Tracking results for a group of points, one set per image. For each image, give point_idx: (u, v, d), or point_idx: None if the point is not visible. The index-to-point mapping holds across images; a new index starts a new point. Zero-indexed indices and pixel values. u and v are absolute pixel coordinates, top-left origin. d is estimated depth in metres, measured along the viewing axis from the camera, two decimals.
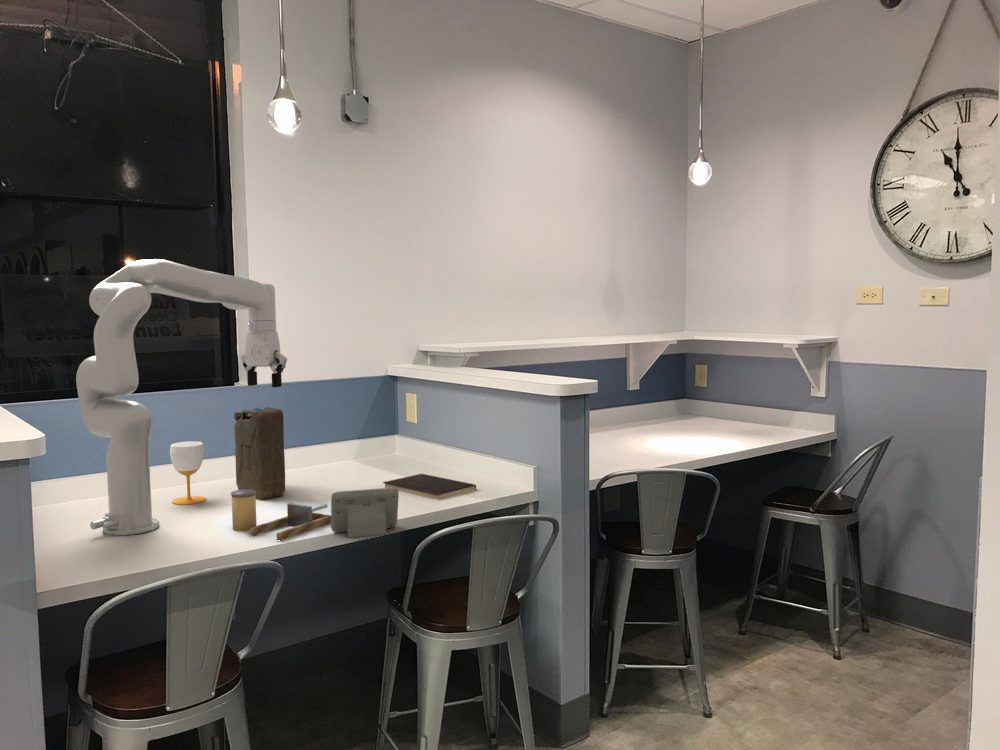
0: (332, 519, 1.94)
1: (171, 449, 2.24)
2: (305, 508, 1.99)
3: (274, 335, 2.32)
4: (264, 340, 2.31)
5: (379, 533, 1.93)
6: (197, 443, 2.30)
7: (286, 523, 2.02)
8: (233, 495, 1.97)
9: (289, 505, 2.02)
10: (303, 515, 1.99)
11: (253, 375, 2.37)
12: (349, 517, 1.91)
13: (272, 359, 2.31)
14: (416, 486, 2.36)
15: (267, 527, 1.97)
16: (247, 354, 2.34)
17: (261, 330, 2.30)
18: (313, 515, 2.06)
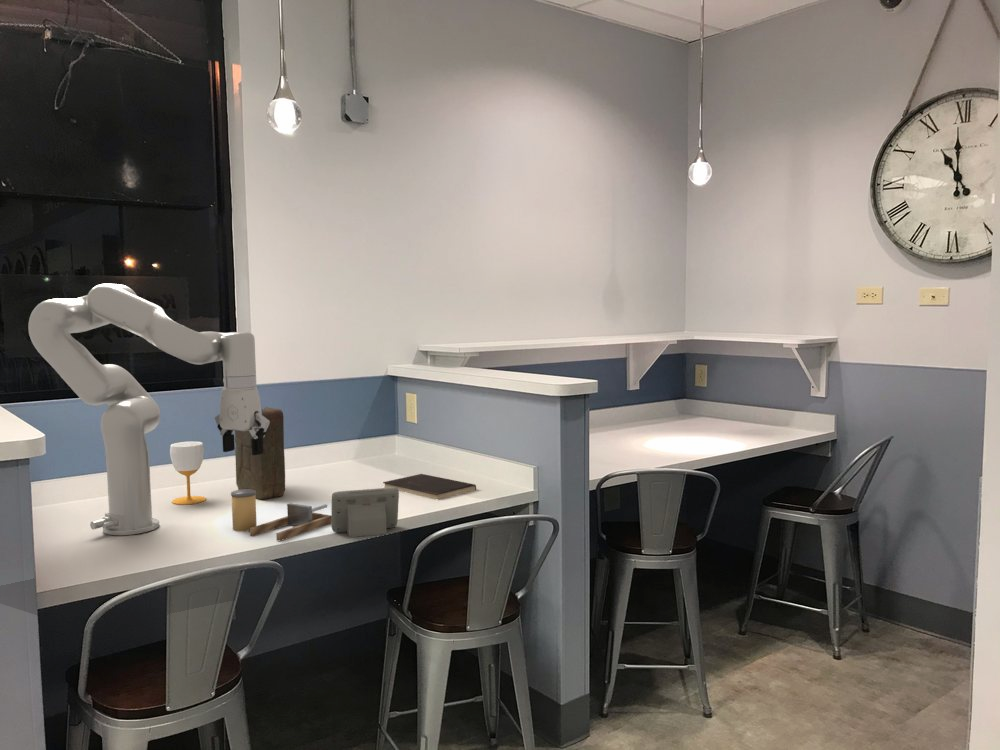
0: (332, 519, 1.94)
1: (171, 449, 2.24)
2: (305, 508, 1.99)
3: (254, 393, 1.96)
4: (242, 399, 1.94)
5: (379, 533, 1.93)
6: (197, 443, 2.30)
7: (286, 523, 2.02)
8: (233, 495, 1.97)
9: (289, 505, 2.02)
10: (303, 515, 1.99)
11: (229, 439, 2.01)
12: (349, 517, 1.92)
13: (252, 422, 1.95)
14: (416, 486, 2.36)
15: (267, 527, 1.97)
16: (222, 415, 1.98)
17: (238, 388, 1.94)
18: (313, 515, 2.06)
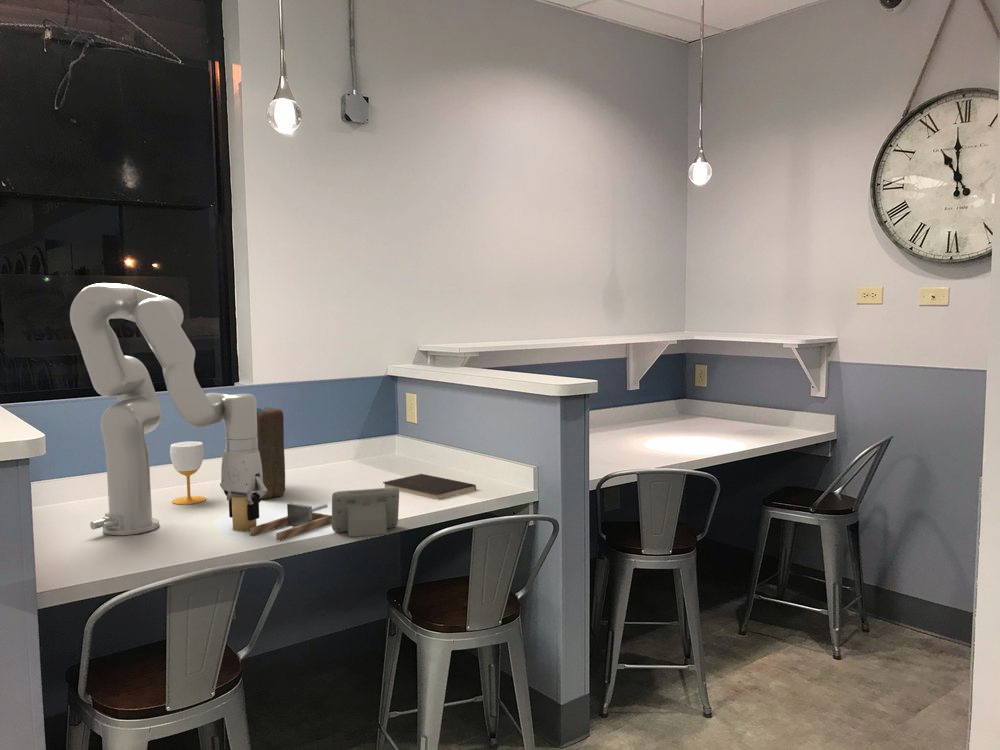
0: (333, 519, 1.94)
1: (171, 449, 2.24)
2: (305, 508, 1.99)
3: (255, 455, 1.96)
4: (243, 462, 1.95)
5: (379, 533, 1.94)
6: (197, 443, 2.30)
7: (286, 523, 2.02)
8: (233, 495, 1.97)
9: (289, 505, 2.02)
10: (303, 515, 1.99)
11: None
12: (349, 517, 1.92)
13: (253, 485, 1.95)
14: (416, 486, 2.36)
15: (267, 527, 1.97)
16: (223, 477, 1.98)
17: (239, 451, 1.95)
18: (313, 515, 2.06)
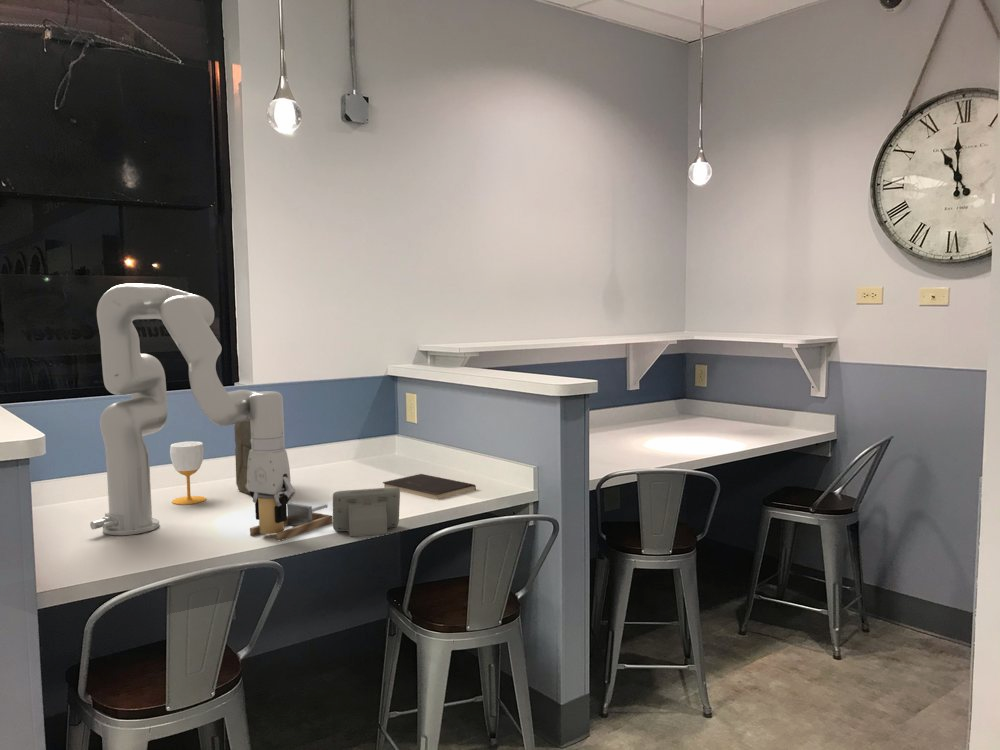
0: (334, 518, 1.95)
1: (171, 449, 2.24)
2: (305, 508, 1.99)
3: (283, 455, 1.89)
4: (270, 462, 1.87)
5: (380, 532, 1.94)
6: (197, 443, 2.30)
7: (286, 523, 2.02)
8: (260, 496, 1.90)
9: (289, 505, 2.02)
10: (303, 515, 1.99)
11: None
12: (350, 516, 1.92)
13: (280, 486, 1.88)
14: (416, 486, 2.36)
15: None
16: (250, 478, 1.91)
17: (266, 450, 1.87)
18: (313, 515, 2.06)
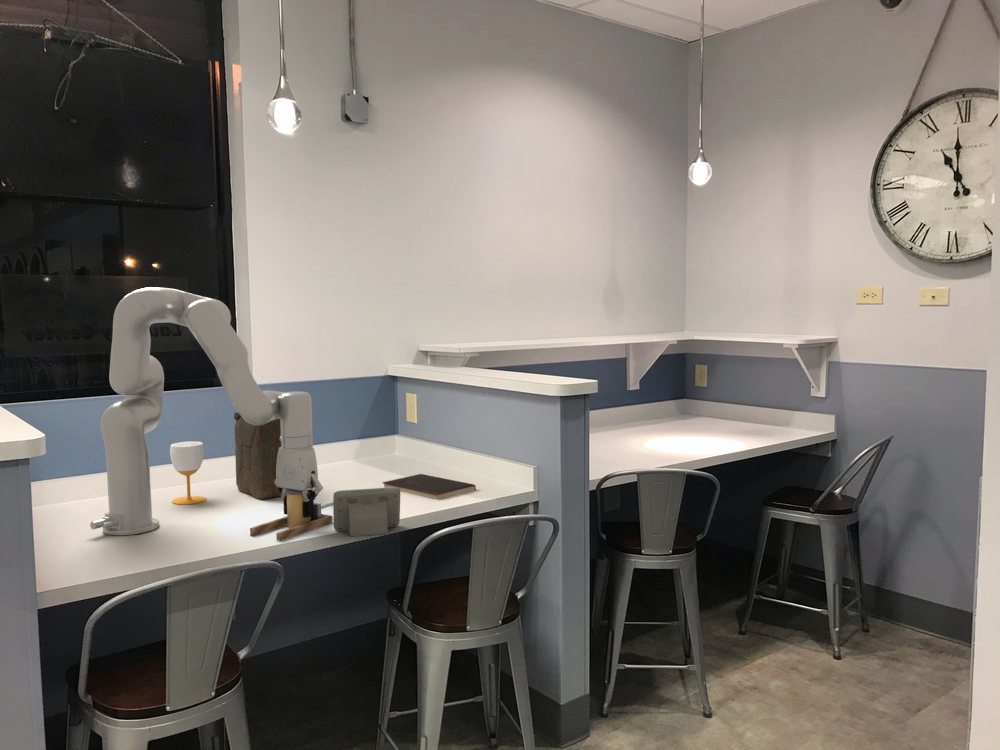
0: (334, 518, 1.95)
1: (171, 449, 2.24)
2: (314, 505, 2.02)
3: (311, 453, 1.97)
4: (299, 459, 1.96)
5: (380, 532, 1.94)
6: (197, 443, 2.30)
7: (286, 523, 2.02)
8: (289, 492, 1.98)
9: None
10: None
11: None
12: (350, 516, 1.92)
13: (308, 482, 1.96)
14: (415, 486, 2.36)
15: (267, 527, 1.97)
16: (279, 474, 1.99)
17: (295, 448, 1.96)
18: None
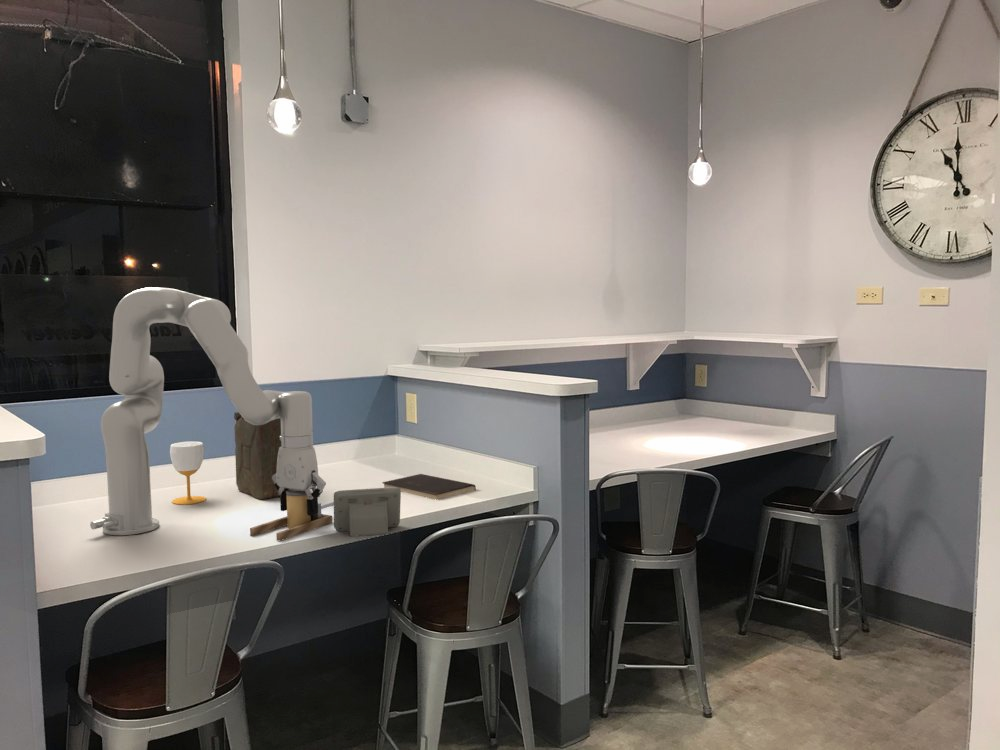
0: (334, 518, 1.95)
1: (171, 449, 2.24)
2: None
3: (311, 452, 1.97)
4: (300, 459, 1.96)
5: (381, 532, 1.94)
6: (197, 443, 2.30)
7: (286, 523, 2.02)
8: (288, 494, 1.98)
9: None
10: None
11: None
12: (351, 516, 1.92)
13: (309, 482, 1.96)
14: (415, 486, 2.36)
15: (267, 527, 1.97)
16: (279, 474, 1.99)
17: (295, 448, 1.96)
18: None
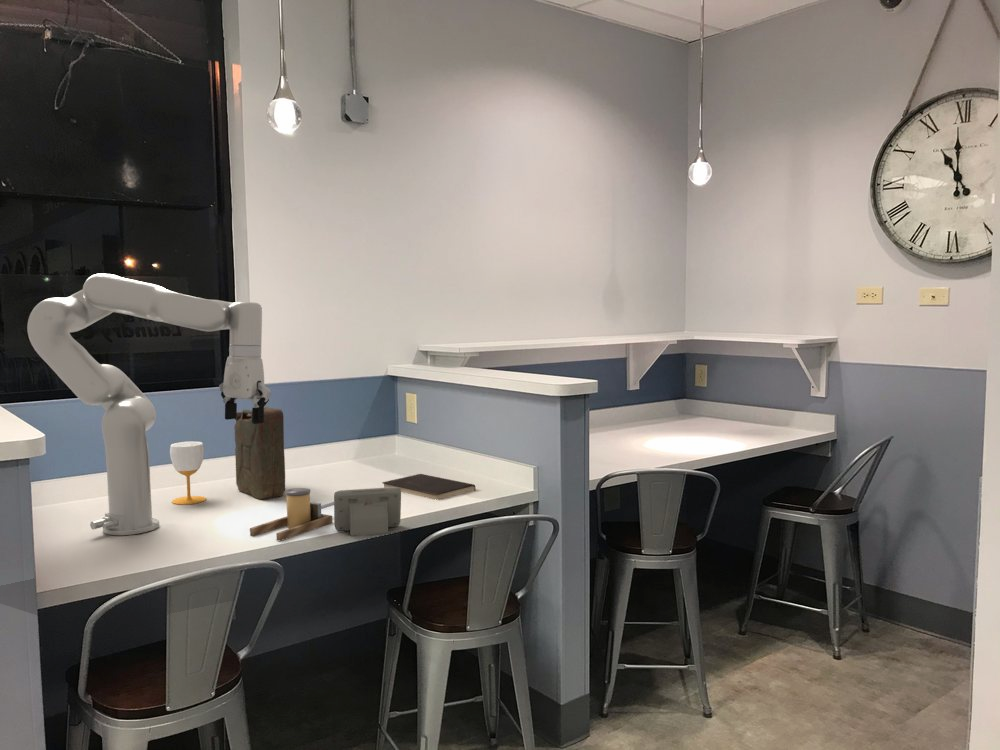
0: (335, 517, 1.95)
1: (171, 449, 2.24)
2: (314, 505, 2.02)
3: (258, 363, 1.99)
4: (246, 368, 1.97)
5: (381, 532, 1.94)
6: (197, 443, 2.30)
7: (286, 523, 2.02)
8: (288, 494, 1.98)
9: None
10: (312, 512, 2.02)
11: (232, 407, 2.04)
12: (351, 516, 1.93)
13: (254, 391, 1.98)
14: (415, 486, 2.36)
15: (267, 527, 1.97)
16: (226, 383, 2.01)
17: (242, 357, 1.97)
18: None
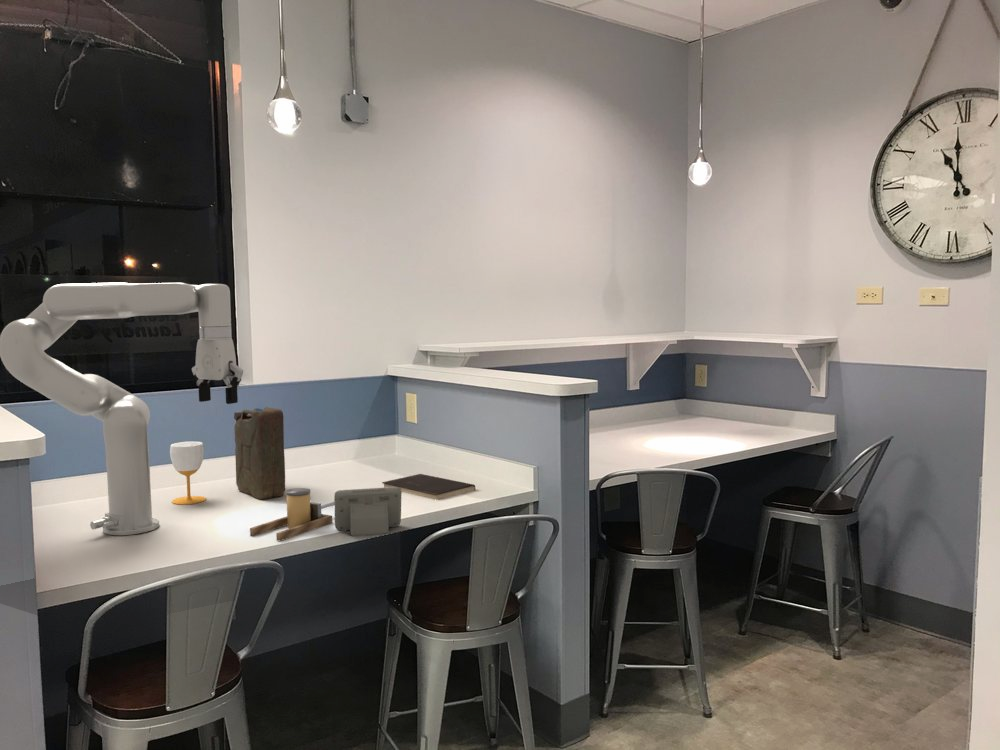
0: (335, 517, 1.95)
1: (171, 449, 2.24)
2: (314, 505, 2.02)
3: (229, 343, 2.01)
4: (217, 349, 1.99)
5: (381, 532, 1.94)
6: (197, 443, 2.30)
7: (286, 523, 2.02)
8: (288, 494, 1.98)
9: None
10: (312, 512, 2.02)
11: (205, 389, 2.06)
12: (351, 515, 1.93)
13: (226, 371, 1.99)
14: (415, 486, 2.36)
15: (267, 527, 1.97)
16: (198, 365, 2.03)
17: (212, 338, 1.99)
18: None
